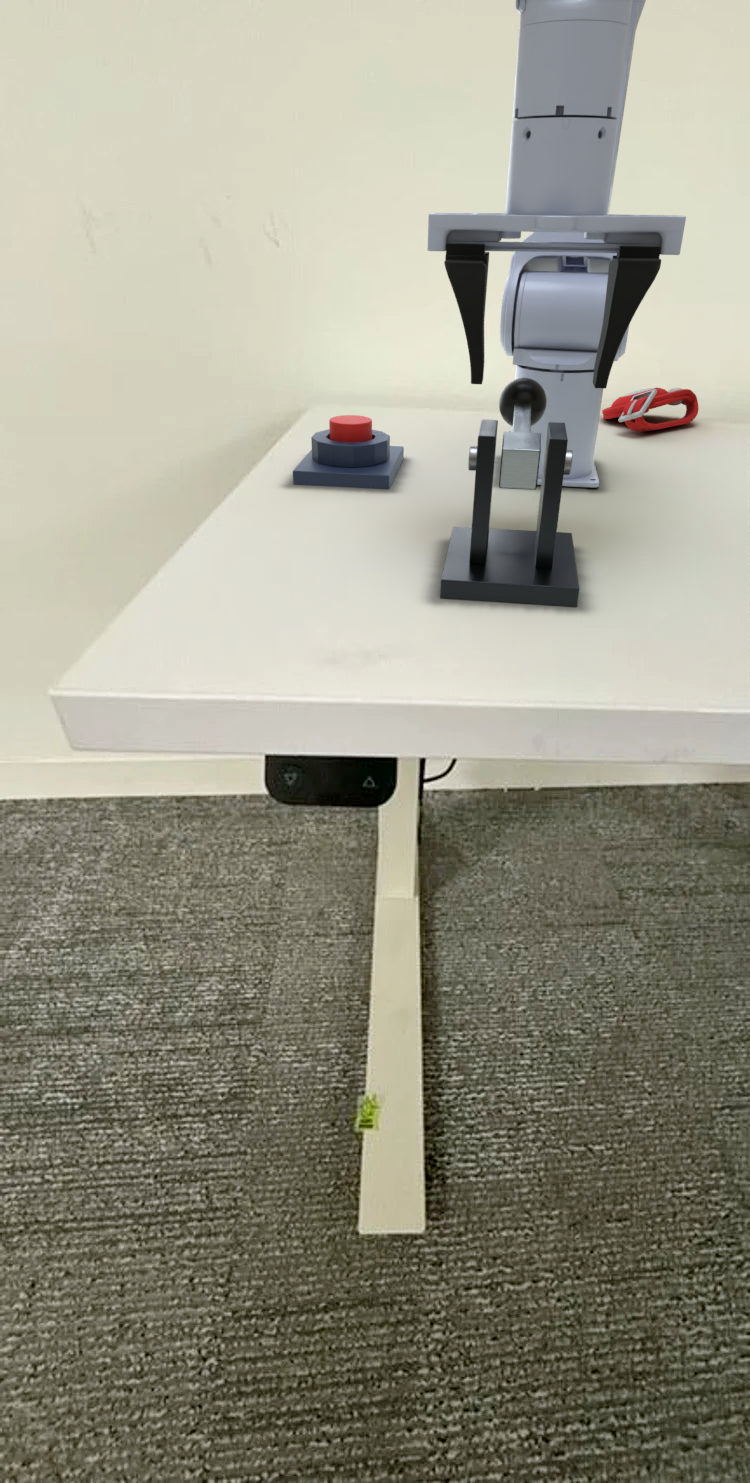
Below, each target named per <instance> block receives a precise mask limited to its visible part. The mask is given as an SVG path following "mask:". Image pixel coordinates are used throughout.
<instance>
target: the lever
mask: <svg viewBox="0 0 750 1483" xmlns="http://www.w3.org/2000/svg"><path fill="white" fill-rule="evenodd" d="M546 403H547V400H546V394H545V391H544V389H543V388H542V386H541V385H540V384H539V383H538V382H536V381H535V380H533V379H529V378H519V379H516V380H515V379H514V380H512V381H510V382H509V383H508V384H506V386H505V387H504V388H503V390H502V391H501V393H500V396H499V400H498V410H499V413H500V415H501V417H502V419H503V420H504V422H505V423H506V424H508V425H509V426H510V427H511V426H513V430H512V432H510V431H504V432H503V433H502V434H503V435H502V447H501V457H500V469H499V479H498V480H499V482H498V488H499V489H510V490H511V489H512V490H530V491H536V490H537V488H538V485H537V480H538V471H539V462H540V453H541V434H540V433H531V426H532V425H534V424H535V423H537V422H538V421H539V420H540V419H541V417H542V416H543V414H544V412H545V409H546Z"/></svg>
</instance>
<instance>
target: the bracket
mask: <svg viewBox="0 0 750 1483" xmlns="http://www.w3.org/2000/svg"><path fill="white" fill-rule="evenodd" d="M498 424H499V421H498V420H497V419H481V420H480V426H479V431H478V435H477V445H470V446H469V453H468V464H467V465H468V468H467V469H468V471H473V472H475V475H474V490H473V504H472V516H471V517H472V520H471V527H470V526H452V529H451V533H450V538H449V543H448V547H447V552H446V556H445V560H444V565H443V568H442V574H441V577H440V590H439V598H440V599H446V600H457V601H458V600H461V601H474V602H475V601H477V602H490V603H491V602H492V603H505V604H521V605H523V604H524V605H535V606H536V605H537V606H551V607H552V606H553V607H568V608H578V603H579V596H580V582H579V575H578V567H577V560H576V554H575V546H574V538H573V533H572V532H563V531H558V530H557V529H558V526H559V524H558V523H559V516H560V508H561V500H562V491H563V486H562V484H563V476H564V475H570V473H571V467H572V458H573V451H572V450H567V443H568V438H567V433H566V427H565V423H557V422H548V428H547V437H546V446H545V455H544V465H543V474H542V483H541V485H540V492H539V500H538V501H539V503H538V511H537V520H536V529H535V530H525V529H524V530H523V529H509V528H507V529H505V528H490V524H491V510H492V499H493V486H494V477H495V476H494V474H495V461H496V451H497V450H496V448H497V437H498Z"/></svg>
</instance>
